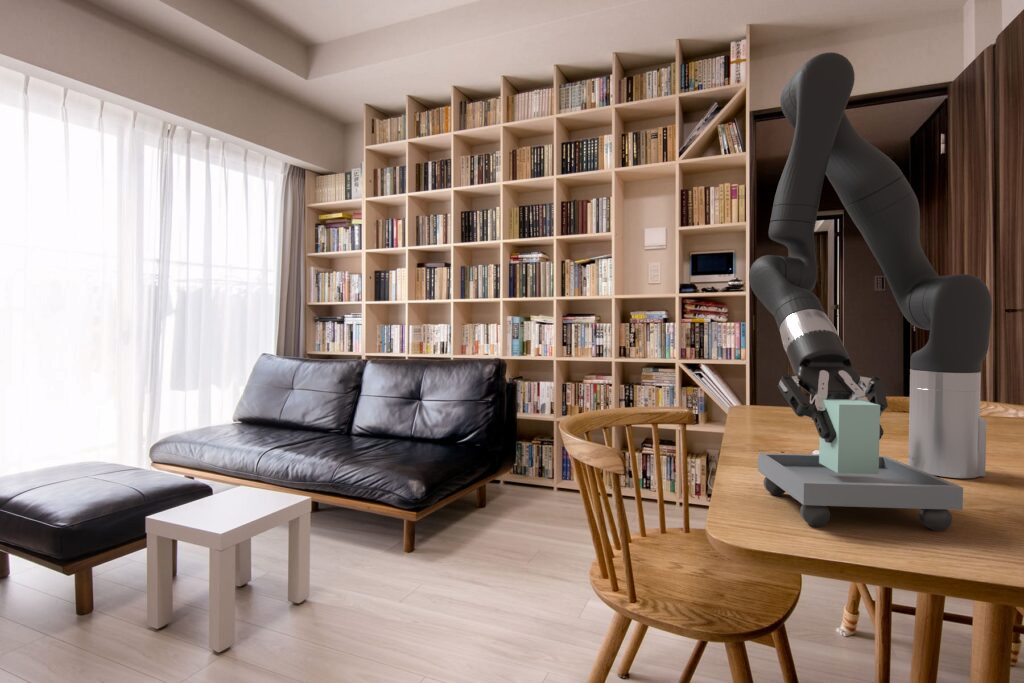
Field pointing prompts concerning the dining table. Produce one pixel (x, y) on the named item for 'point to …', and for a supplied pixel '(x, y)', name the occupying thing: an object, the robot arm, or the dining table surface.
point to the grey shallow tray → (860, 488)
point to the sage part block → (852, 437)
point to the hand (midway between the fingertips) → (853, 439)
